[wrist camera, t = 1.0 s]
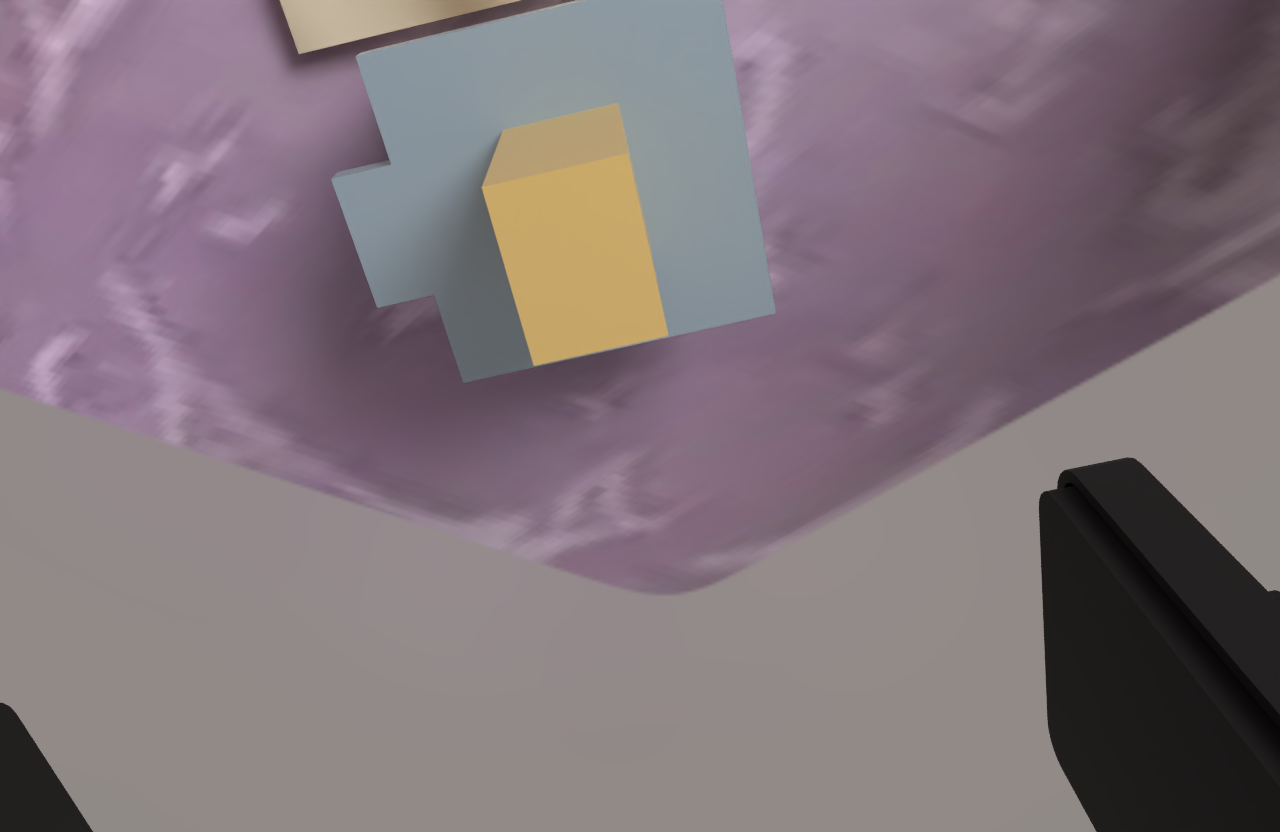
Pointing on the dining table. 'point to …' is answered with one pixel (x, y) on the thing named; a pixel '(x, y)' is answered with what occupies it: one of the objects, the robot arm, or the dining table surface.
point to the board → (366, 18)
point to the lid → (562, 182)
